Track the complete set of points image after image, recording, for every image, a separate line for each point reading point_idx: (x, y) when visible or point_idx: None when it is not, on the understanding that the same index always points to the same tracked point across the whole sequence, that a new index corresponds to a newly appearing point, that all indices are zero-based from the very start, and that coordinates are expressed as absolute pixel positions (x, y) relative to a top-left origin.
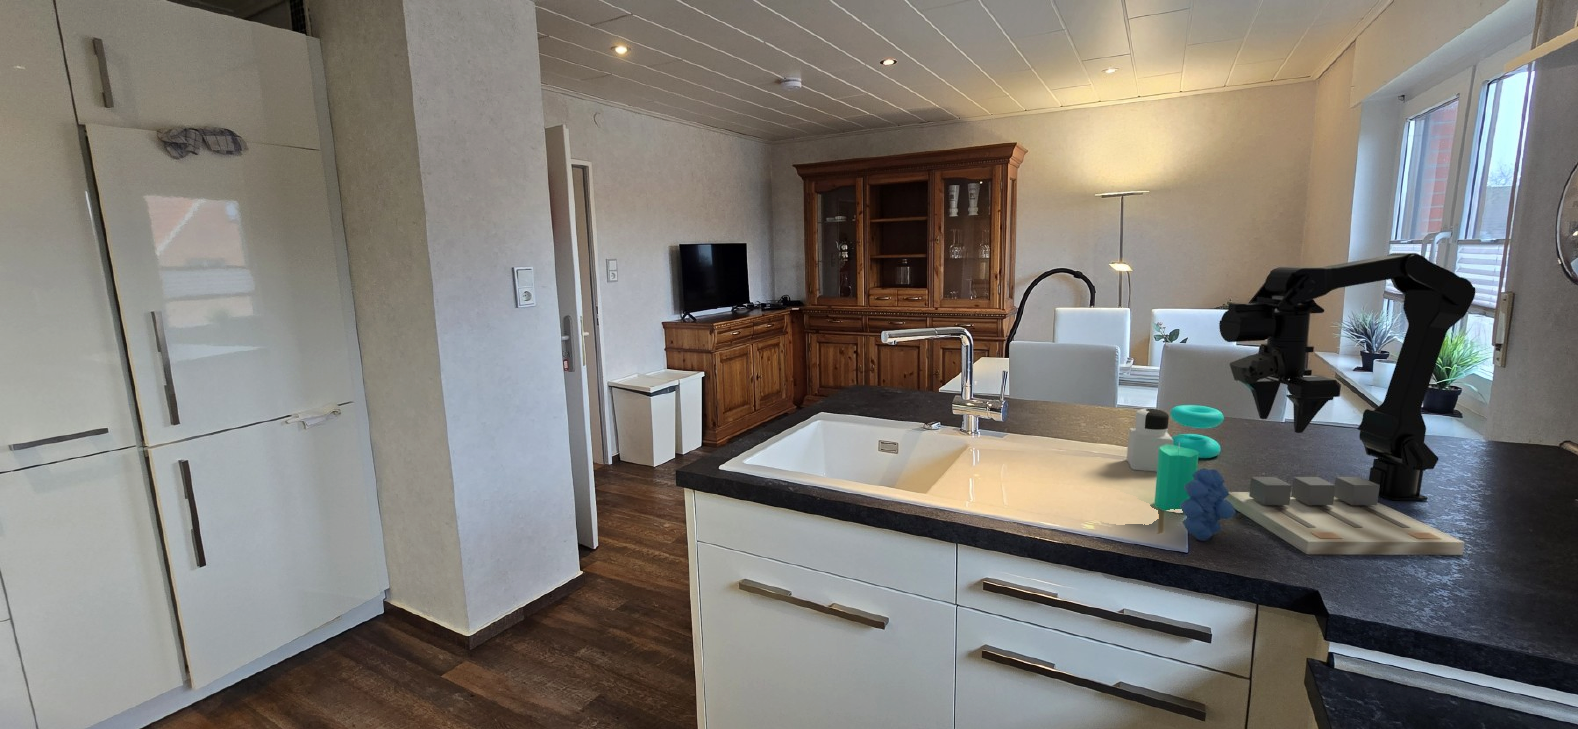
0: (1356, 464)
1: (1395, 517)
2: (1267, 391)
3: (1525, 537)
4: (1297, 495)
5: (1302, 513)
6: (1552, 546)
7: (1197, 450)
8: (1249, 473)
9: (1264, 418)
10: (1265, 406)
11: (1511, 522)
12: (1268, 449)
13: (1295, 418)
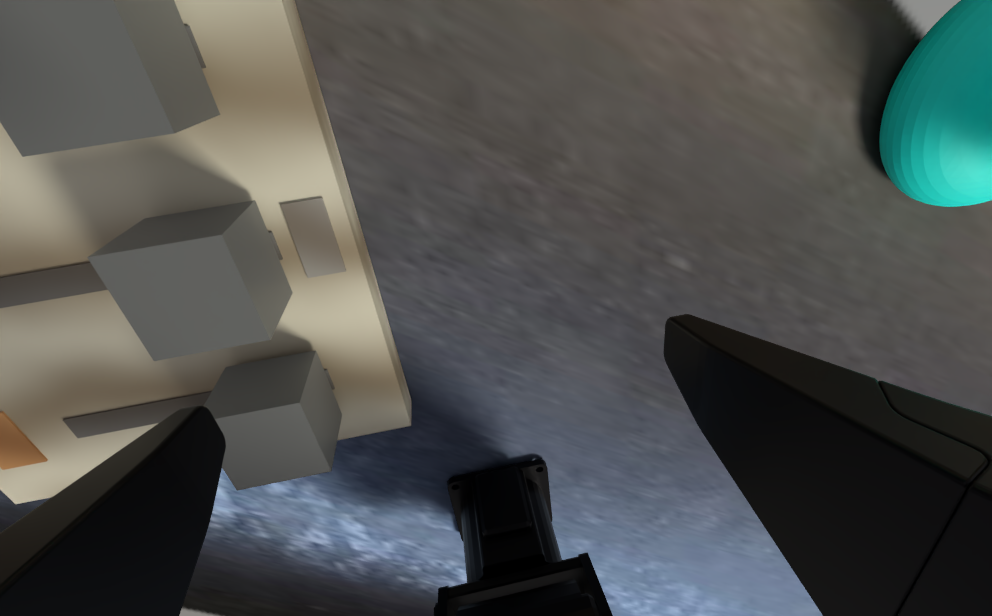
0: (723, 504)
1: None
2: (912, 612)
3: (264, 591)
4: (208, 212)
5: (33, 155)
6: (224, 606)
7: (929, 68)
8: (685, 215)
9: (664, 341)
10: (740, 422)
11: (357, 599)
12: (891, 371)
13: (55, 516)
